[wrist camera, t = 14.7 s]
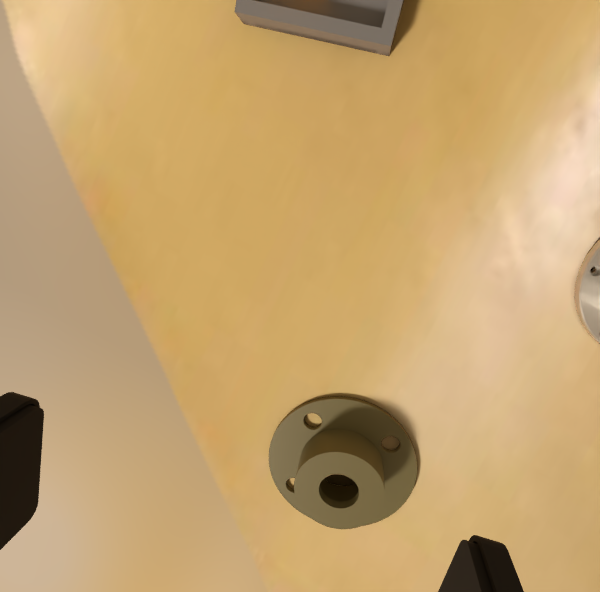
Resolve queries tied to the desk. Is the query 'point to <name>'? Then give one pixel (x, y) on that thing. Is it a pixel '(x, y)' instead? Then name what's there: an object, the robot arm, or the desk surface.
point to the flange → (343, 462)
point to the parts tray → (328, 20)
